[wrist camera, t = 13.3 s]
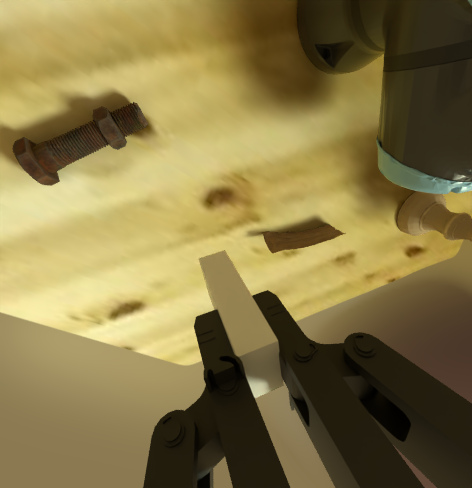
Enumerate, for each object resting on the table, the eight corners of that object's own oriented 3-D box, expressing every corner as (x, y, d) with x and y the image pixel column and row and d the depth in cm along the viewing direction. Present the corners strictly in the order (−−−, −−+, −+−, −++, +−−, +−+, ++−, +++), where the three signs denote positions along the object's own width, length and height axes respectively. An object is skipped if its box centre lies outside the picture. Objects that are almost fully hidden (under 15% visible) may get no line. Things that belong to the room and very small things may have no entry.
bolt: (144, 118, 37) (43, 165, 36) (126, 83, 33) (10, 135, 31) (157, 142, 35) (50, 194, 33) (140, 108, 30) (15, 166, 29)
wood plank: (330, 218, 54) (346, 228, 50) (329, 227, 55) (344, 238, 51) (261, 232, 50) (272, 245, 46) (261, 241, 51) (272, 255, 47)
